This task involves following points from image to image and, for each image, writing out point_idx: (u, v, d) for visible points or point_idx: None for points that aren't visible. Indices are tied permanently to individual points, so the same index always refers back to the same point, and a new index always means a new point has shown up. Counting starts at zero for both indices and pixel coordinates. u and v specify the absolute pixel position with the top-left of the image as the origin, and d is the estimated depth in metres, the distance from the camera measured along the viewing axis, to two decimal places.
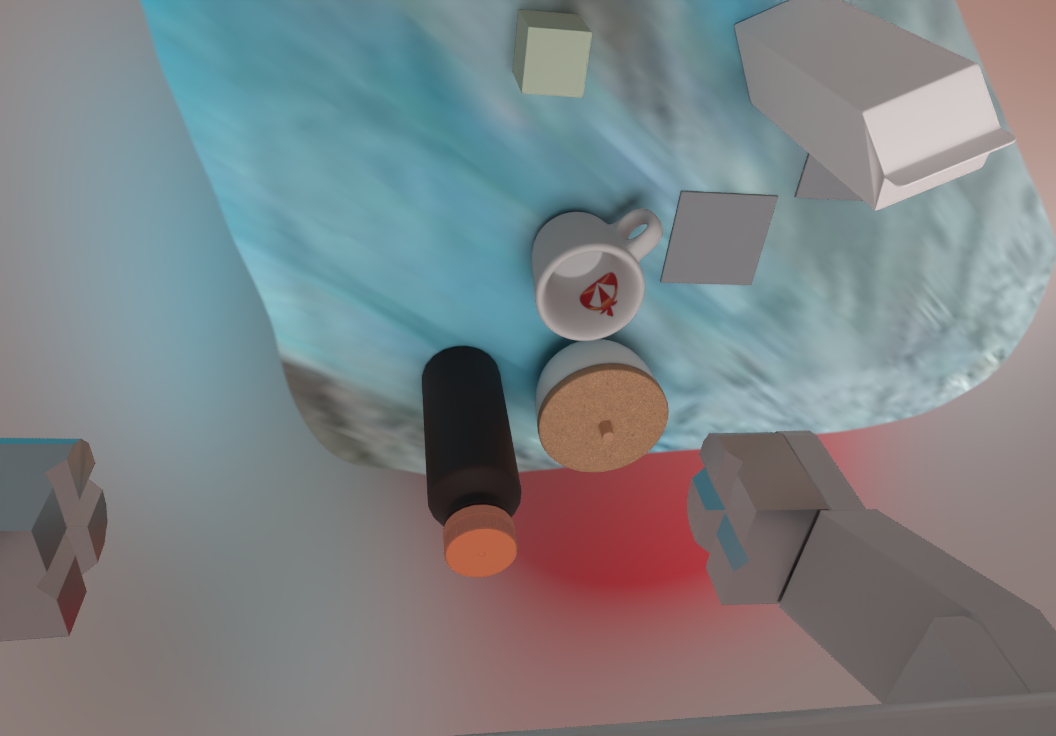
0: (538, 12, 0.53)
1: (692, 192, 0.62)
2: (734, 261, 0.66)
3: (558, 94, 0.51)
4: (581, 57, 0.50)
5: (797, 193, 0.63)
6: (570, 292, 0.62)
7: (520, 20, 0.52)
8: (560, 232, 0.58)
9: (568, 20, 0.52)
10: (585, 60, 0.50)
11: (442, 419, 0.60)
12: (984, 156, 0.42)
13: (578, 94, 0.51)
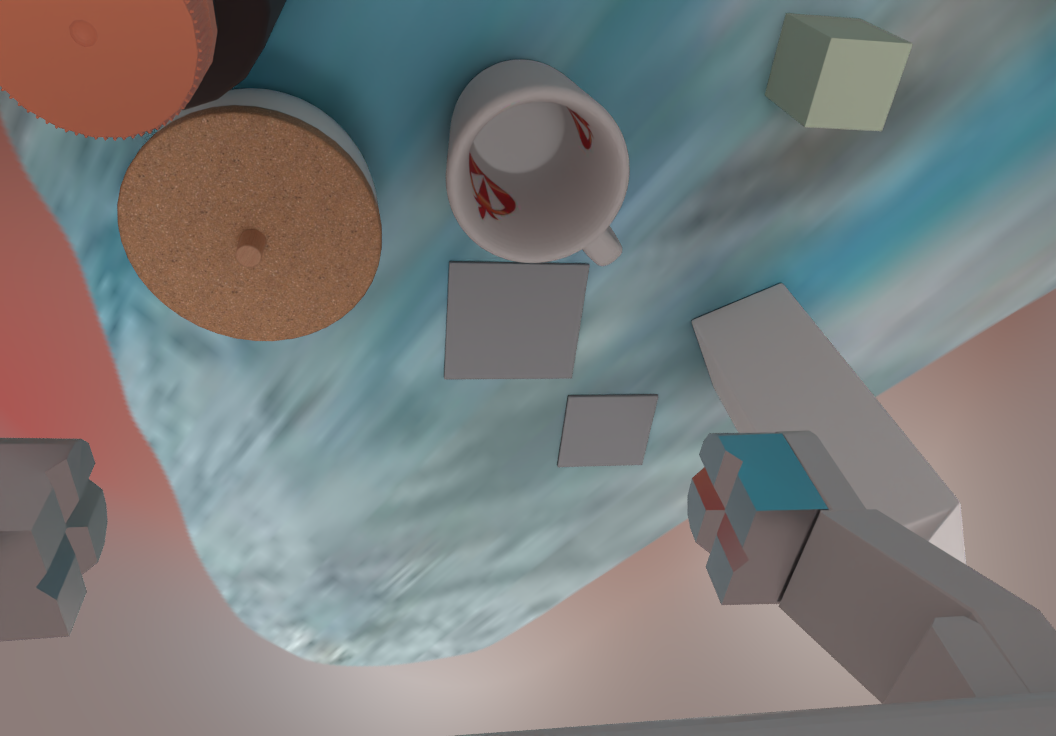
0: None
1: (586, 278, 0.46)
2: (481, 351, 0.48)
3: (816, 92, 0.37)
4: (856, 119, 0.38)
5: (573, 397, 0.51)
6: None
7: (867, 25, 0.39)
8: None
9: None
10: (850, 125, 0.38)
11: None
12: None
13: (810, 120, 0.37)
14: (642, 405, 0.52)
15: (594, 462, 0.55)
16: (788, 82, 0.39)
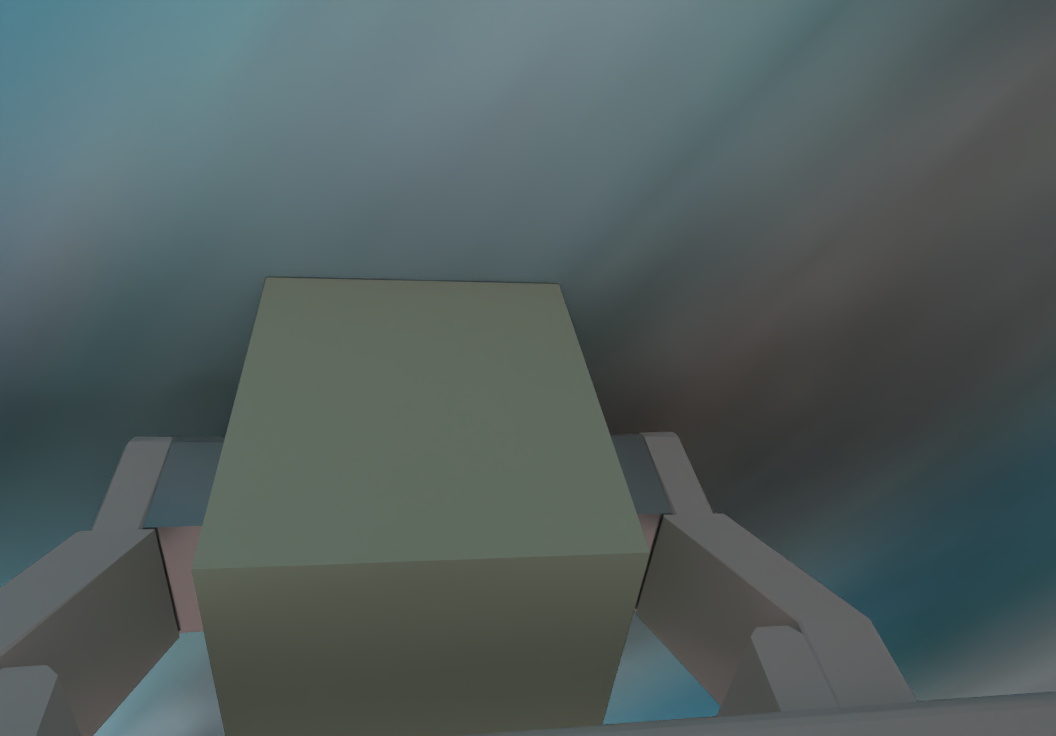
0: None
1: None
2: None
3: (232, 727, 0.08)
4: None
5: None
6: None
7: (548, 341, 0.10)
8: None
9: None
10: None
11: None
12: None
13: None
14: None
15: None
16: None
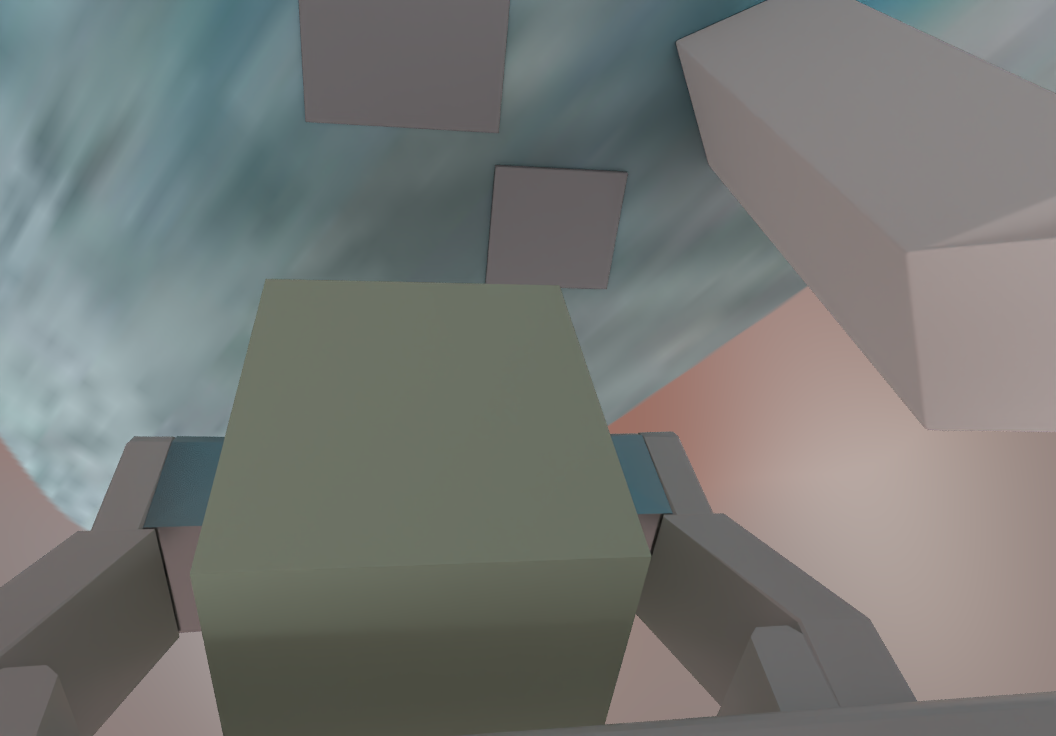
0: None
1: None
2: (358, 73, 0.32)
3: (231, 731, 0.08)
4: None
5: (503, 168, 0.35)
6: None
7: (549, 344, 0.10)
8: None
9: None
10: None
11: None
12: (978, 425, 0.21)
13: None
14: (605, 188, 0.36)
15: (538, 281, 0.39)
16: None
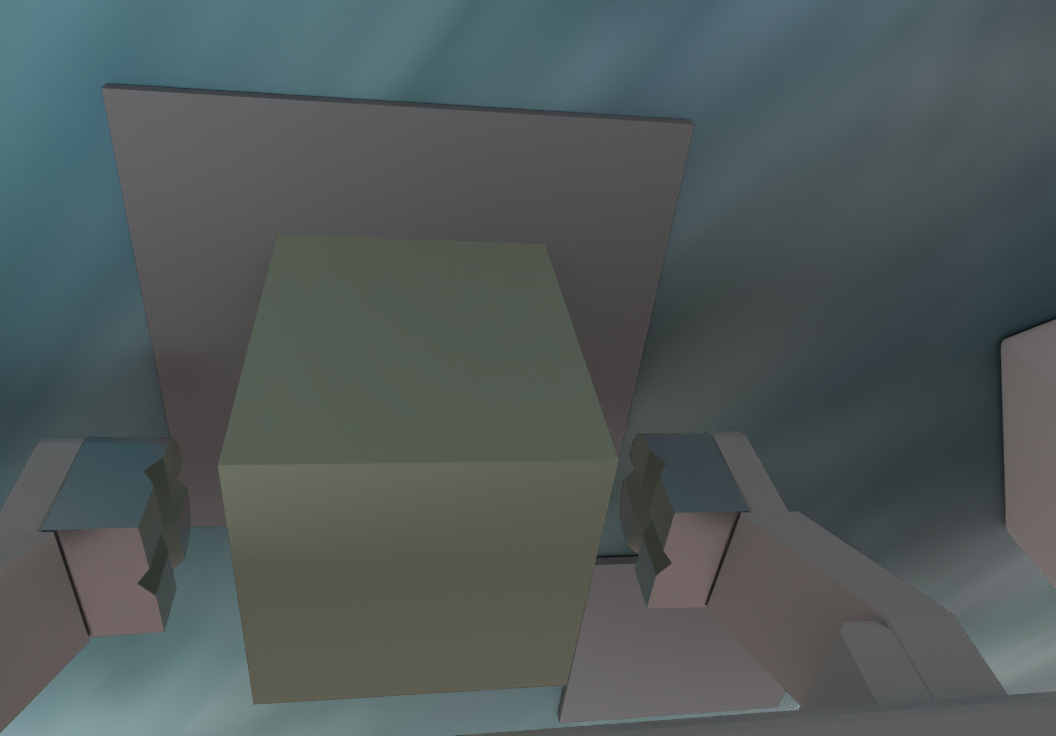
0: None
1: (678, 181, 0.12)
2: None
3: (248, 621, 0.09)
4: (455, 670, 0.10)
5: (609, 565, 0.17)
6: None
7: (534, 292, 0.11)
8: None
9: None
10: (439, 685, 0.10)
11: None
12: None
13: (266, 689, 0.10)
14: None
15: (656, 709, 0.21)
16: None
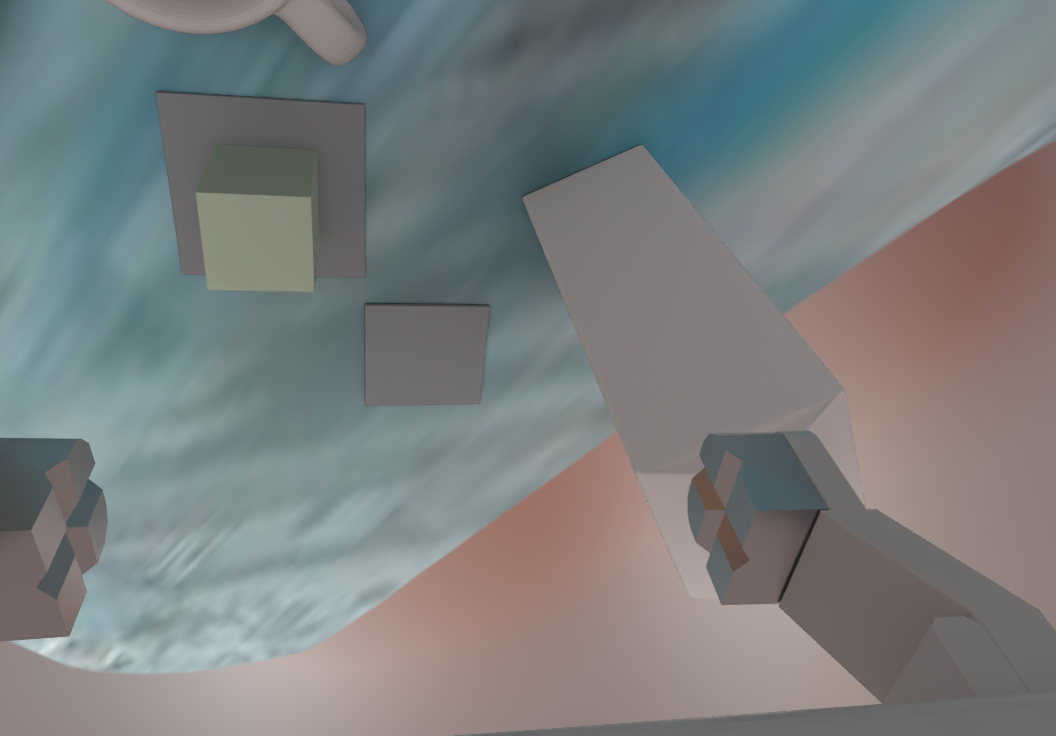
0: (317, 183, 0.34)
1: (364, 126, 0.33)
2: None
3: (205, 252, 0.30)
4: (273, 280, 0.31)
5: (372, 306, 0.38)
6: None
7: (305, 162, 0.32)
8: None
9: (316, 237, 0.33)
10: (269, 287, 0.31)
11: None
12: None
13: (211, 283, 0.31)
14: (469, 320, 0.40)
15: (414, 399, 0.42)
16: None
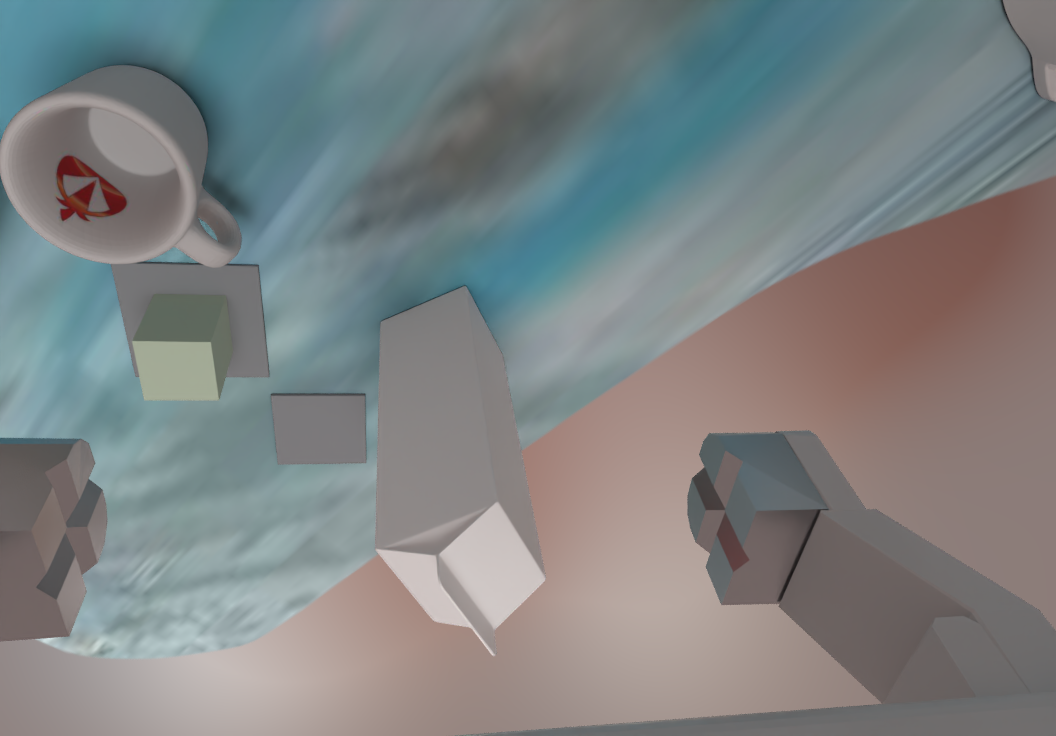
0: (226, 318, 0.48)
1: (258, 279, 0.47)
2: None
3: (141, 377, 0.44)
4: (189, 393, 0.45)
5: (276, 396, 0.52)
6: (70, 137, 0.38)
7: (214, 308, 0.46)
8: (184, 116, 0.37)
9: (225, 357, 0.47)
10: (187, 397, 0.45)
11: None
12: (452, 622, 0.38)
13: (146, 395, 0.45)
14: (350, 404, 0.53)
15: (315, 460, 0.56)
16: None
